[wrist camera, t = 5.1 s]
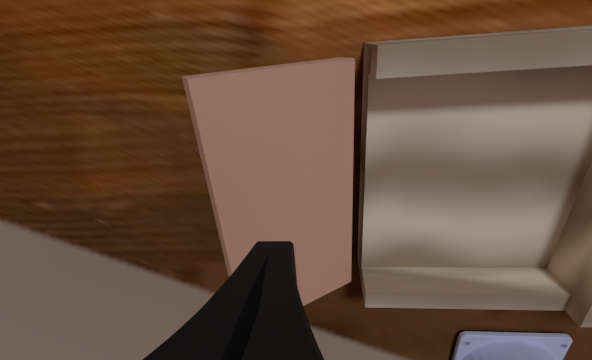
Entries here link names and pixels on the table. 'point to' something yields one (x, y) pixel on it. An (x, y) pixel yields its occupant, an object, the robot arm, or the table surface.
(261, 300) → the robot arm
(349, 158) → the panel
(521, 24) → the table surface
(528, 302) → the tray
